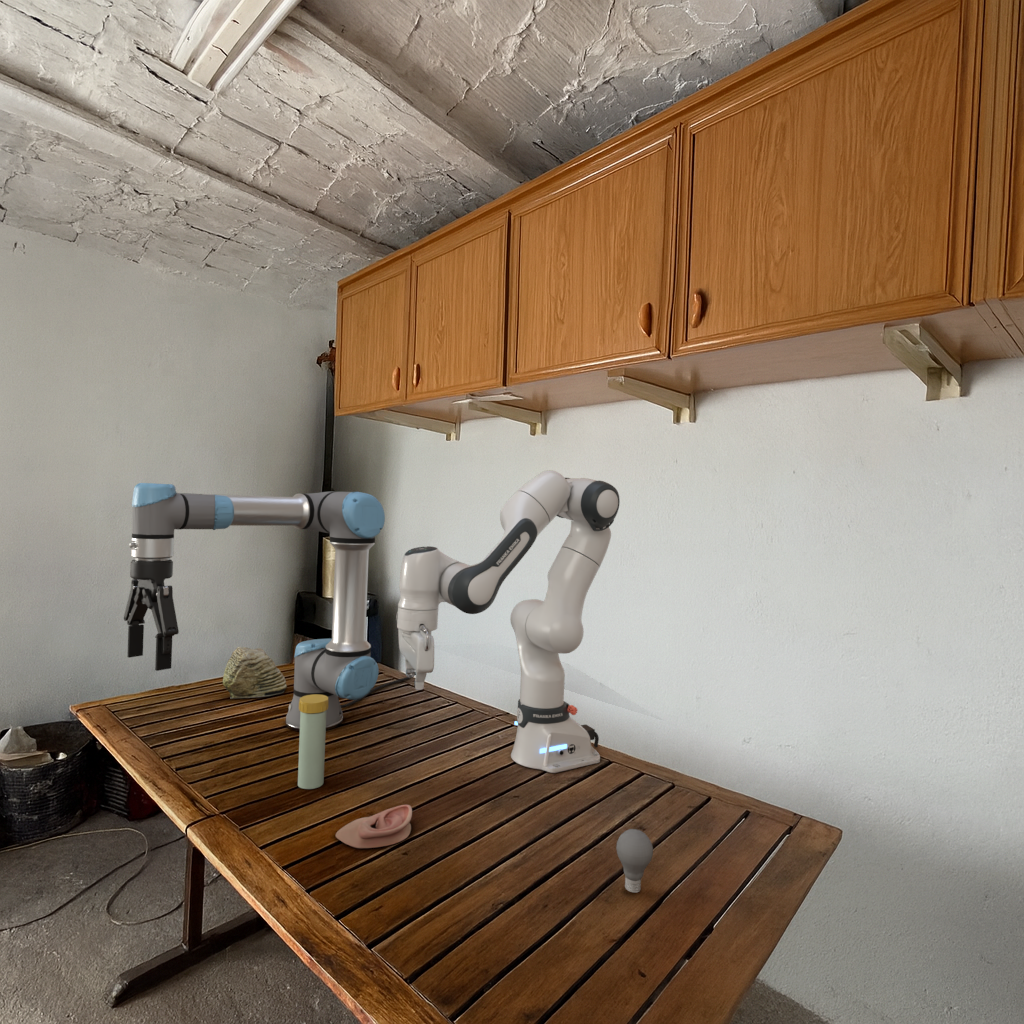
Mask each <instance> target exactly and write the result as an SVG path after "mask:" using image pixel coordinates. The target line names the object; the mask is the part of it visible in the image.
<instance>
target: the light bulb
mask: <svg viewBox="0 0 1024 1024" xmlns="http://www.w3.org/2000/svg"><path fill="white" fill-rule="evenodd" d="M615 849H616V854H617V857H618V859H619V861H620V863H621V865H622V867H623V873H624V874H623V875H624V876H625V878H624V888H625V890H627V891H628V892H630V893H634V894H635V893H639V892H640V891H641V889H642V887H641V886H642V879H643V877H644V875H645V871H646V868H647V867H648V866H649V864H650V863H651V861H652V859H653V855H654V847H653V843H652V841H651V838H649V836H648V835H647V834H646V833H645V832H643V831H642V830H641V829H636V828H629V829H627V830H625V831H623V832H622V833H621V834H620V835H619V837H618V839H617V841H616V847H615Z"/></svg>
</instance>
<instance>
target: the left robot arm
mask: <svg viewBox="0 0 1024 1024" xmlns="http://www.w3.org/2000/svg"><path fill="white" fill-rule="evenodd" d="M385 515H386V513H385V511H384V508H383V505H382V503H381V502H380V501H379V500H378V498H377V497H375V495H373V494H370V493H367V492H363V491H362V492H361V491H337V490H336V491H335V490H333V491H332V490H330V491H321V492H311V493H295V494H294V495H293V496H276V495H275V496H274V495H273V496H272V495H248V494H247V495H246V494H244V495H243V494H220V493H219V494H218V493H217V494H216V493H215V494H214V493H189V492H187V493H186V492H177V491H176V486H175V485H174V484H173V483H152V482H139V483H137V484H136V485H135V486H134V488H133V492H132V501H131V520H132V521H131V542H130V543H128V547H129V548H130V549H131V550H130V556H131V558H133V559H132V560H131V561H130V567H129V568H130V571H129V574H130V575H129V576H130V578H131V581H130V590H129V594H128V598H127V603H126V607H125V610H124V615H123V621H124V622H126V624H127V626H128V629H127V630H128V631H127V658H135V657H142V656H144V635H145V634H144V630H145V625H144V624H145V623H146V621H145V619H144V618H145V616H146V615H147V612H148V609H149V610H151V613H152V618H153V620H154V624H155V627H156V631H157V633H156V635H155V636H154V638H155V661H154V663H155V665H154V668H155V669H154V670H155V671H157V672H159V671H164V670H169V669H172V659H173V657H172V655H173V637H175V636H176V635H179V632H180V631H179V625H178V619H177V615H176V614H177V613H176V609H175V603H174V597H173V595H174V593H173V585H165V580H167V579H171V578H172V577H173V575H174V573H173V572H174V561H173V560H172V559H171V558H173V557H174V554H175V553H174V552H175V530H213V531H215V530H224V529H228V528H230V526H233V527H234V526H237V527H238V526H240V527H243V526H246V527H247V526H249V527H250V526H258V527H259V526H268V527H269V526H276V527H277V526H282V527H284V526H285V527H286V526H287V527H288V526H289V527H290V526H291V527H293V528H294V529H296V530H308V531H309V530H310V531H316V532H319V533H325V534H329V544H330V545H331V546H332V547H333V548H334V550H335V551H334V572H333V573H334V577H333V599H332V625H331V626H332V627H331V638H317V639H308V640H304V641H300V642H299V643H297V645H296V646H295V650H294V655H293V657H294V672H293V673H294V674H293V695H292V696H293V697H292V699H291V702H290V703H289V705H288V711H287V713H286V715H285V726H286V728H287V729H289V730H291V731H294V732H295V731H296V732H300V711H299V699H300V698H301V697H303V696H306V695H313V694H319V695H325V696H327V697H328V700H329V703H328V709H327V710H326V731H329V730H332V729H335V728H337V727H339V726H340V725H342V723H343V722H344V714H343V709H345V708H349V707H351V706H353V705H355V704H357V703H359V702H360V701H362V700H363V699H365V698H366V697H367V696H369V695H370V694H372V693H374V692H377V691H378V690H381V689H383V688H386V687H389V686H392V685H395V684H398V683H402V682H405V681H408V680H410V679H412V678H411V677H410V678H408V677H407V676H405V677H402V678H399V679H395V680H392V681H389V682H386V683H383V684H381V685H378V686H376V687H375V685H376V683H377V682H378V678H379V674H380V672H379V671H380V670H379V669H380V668H379V665H378V663H377V662H376V660H375V659H374V657H371V652H372V649H371V648H372V644H371V643H370V642H368V640H367V639H366V631H367V607H368V606H367V605H368V604H367V602H368V582H369V581H368V579H369V555H370V553H369V552H370V550H371V548H372V547H374V545H375V544H376V536H378V535H379V534H380V533H381V530H383V528H384V526H385V522H386V521H385V520H386V516H385ZM415 676H416V673H415ZM339 698H341V699H342V700H343V699H344V700H348V701H349V700H350V702H347V703H344V704H341V702H340V699H339Z"/></svg>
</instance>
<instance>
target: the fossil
mask: <svg viewBox="0 0 1024 1024" xmlns="http://www.w3.org/2000/svg"><path fill="white" fill-rule="evenodd" d="M222 676H223V677H222V685H223V687H224V688H225V690H226V691H228V693H229V698H230V699H250V698H264V697H271V696H275V695H281V694H284V693H285V691H286V689H287V687H288V686H287V680H286V678H285V676H284V674H283V673H282V672H281V669H279V668H278V667H277V665H276V663H275V662H274V660H273V659H272V658H271V657H270V656H269V655H268V654H267V653H266V652H265V650H264V649H263V648H260V647H258V648H251V647H247V646H246V647H245V646H238V647H237V648H236V649H235V650H233V651H232V653H231V656H230V657H229V659H228V660H227V663H226V666H225V668H224V671H223V675H222Z"/></svg>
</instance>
